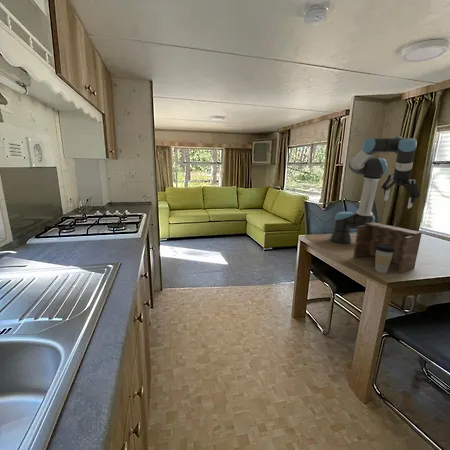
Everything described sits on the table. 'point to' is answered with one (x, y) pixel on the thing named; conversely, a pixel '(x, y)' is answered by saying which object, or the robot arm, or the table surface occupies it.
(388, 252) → the coffee cup
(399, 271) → the walnut box
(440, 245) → the table surface
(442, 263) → the table surface
